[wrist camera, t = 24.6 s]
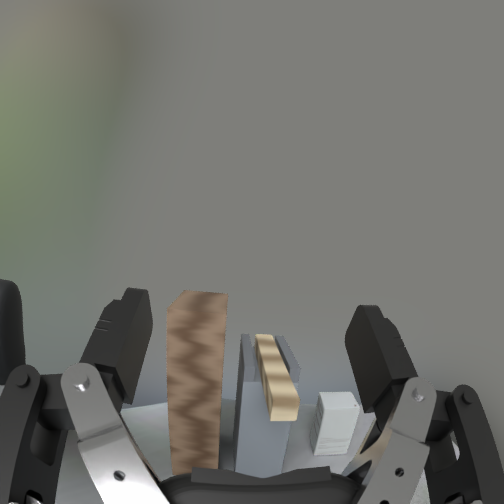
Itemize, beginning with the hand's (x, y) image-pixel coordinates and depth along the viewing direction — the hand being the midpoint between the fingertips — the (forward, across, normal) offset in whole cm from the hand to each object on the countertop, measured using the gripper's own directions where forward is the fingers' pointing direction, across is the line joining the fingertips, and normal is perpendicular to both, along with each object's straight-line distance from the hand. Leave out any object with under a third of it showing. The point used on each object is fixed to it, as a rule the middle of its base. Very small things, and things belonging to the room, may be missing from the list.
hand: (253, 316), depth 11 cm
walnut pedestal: (+11, +5, +51) cm, 53 cm away
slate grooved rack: (+11, -6, +51) cm, 53 cm away
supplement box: (+13, -22, +53) cm, 58 cm away
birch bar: (+17, -6, +29) cm, 34 cm away
